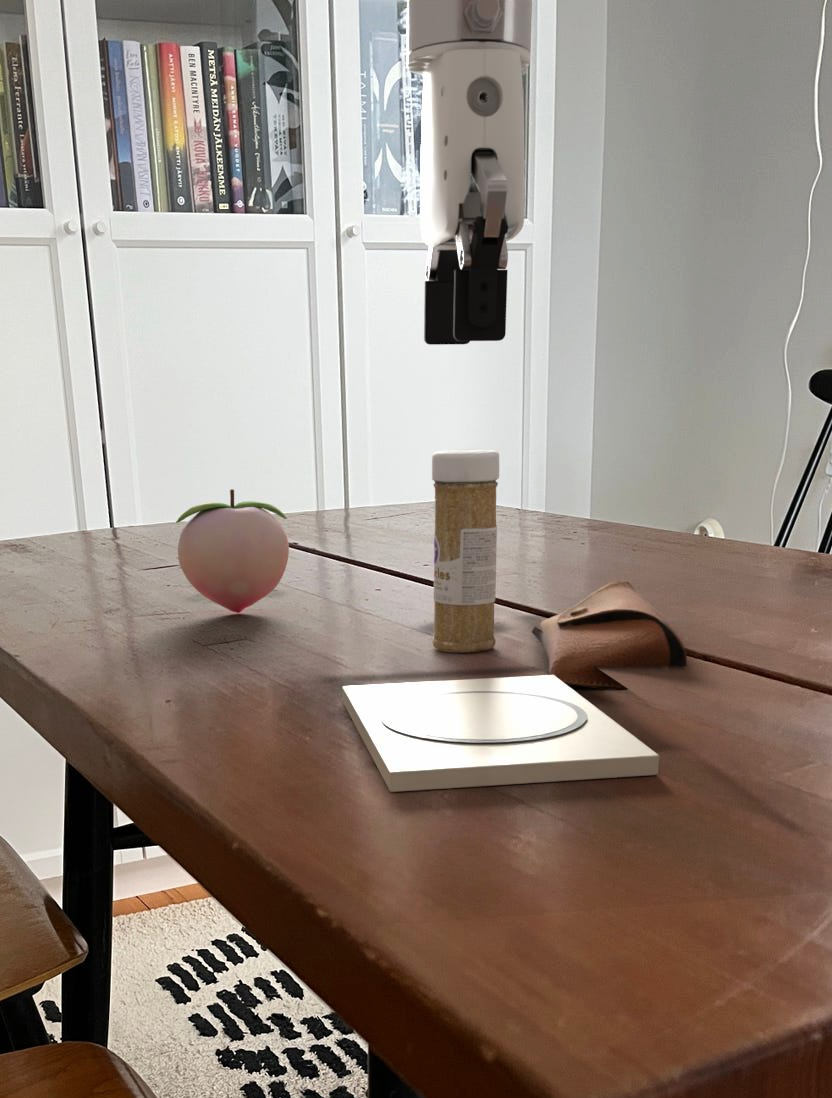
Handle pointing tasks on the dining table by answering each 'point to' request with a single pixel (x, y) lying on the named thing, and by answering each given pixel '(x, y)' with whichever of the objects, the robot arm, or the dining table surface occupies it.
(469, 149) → the robot arm
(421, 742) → the white flat block
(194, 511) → the decorative fruit
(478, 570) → the sprinkles bottle
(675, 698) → the dining table surface
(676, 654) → the sunglasses case
